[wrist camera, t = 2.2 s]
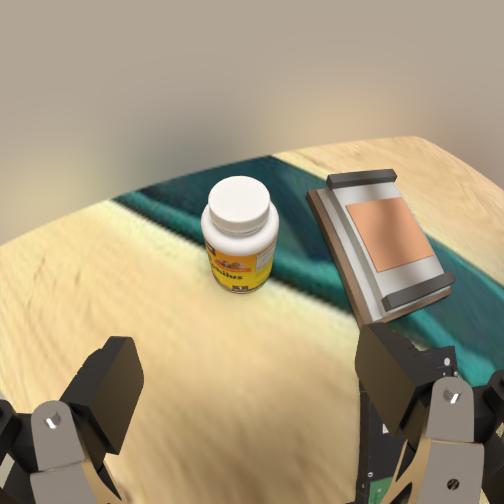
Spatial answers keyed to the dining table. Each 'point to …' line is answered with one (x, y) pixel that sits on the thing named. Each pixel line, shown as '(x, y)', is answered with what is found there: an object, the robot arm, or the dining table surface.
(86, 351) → the dining table surface
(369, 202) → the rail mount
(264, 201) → the supplement bottle
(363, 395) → the disk drive
